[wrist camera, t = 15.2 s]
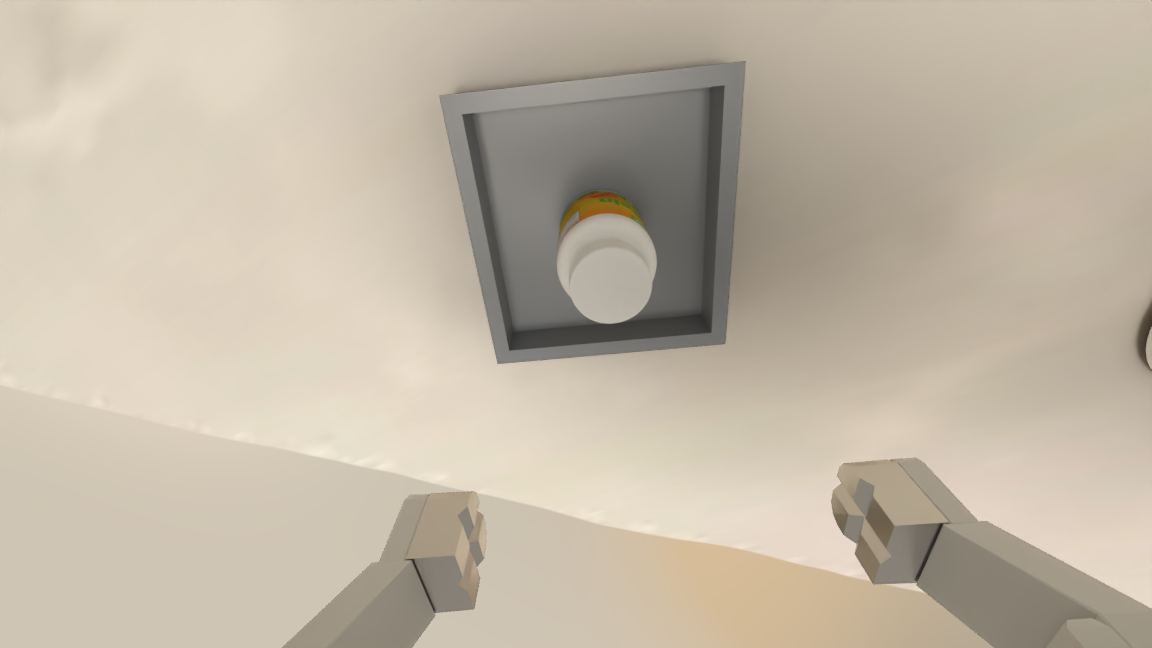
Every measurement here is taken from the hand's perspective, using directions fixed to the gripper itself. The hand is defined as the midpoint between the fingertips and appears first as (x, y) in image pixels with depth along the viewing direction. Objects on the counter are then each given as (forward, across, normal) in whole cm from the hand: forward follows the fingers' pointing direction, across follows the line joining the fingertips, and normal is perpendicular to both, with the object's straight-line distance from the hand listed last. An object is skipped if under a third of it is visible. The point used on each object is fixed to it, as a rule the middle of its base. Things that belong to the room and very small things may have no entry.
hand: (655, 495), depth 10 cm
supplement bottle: (+22, 0, 0) cm, 22 cm away
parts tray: (+23, 0, 0) cm, 23 cm away
